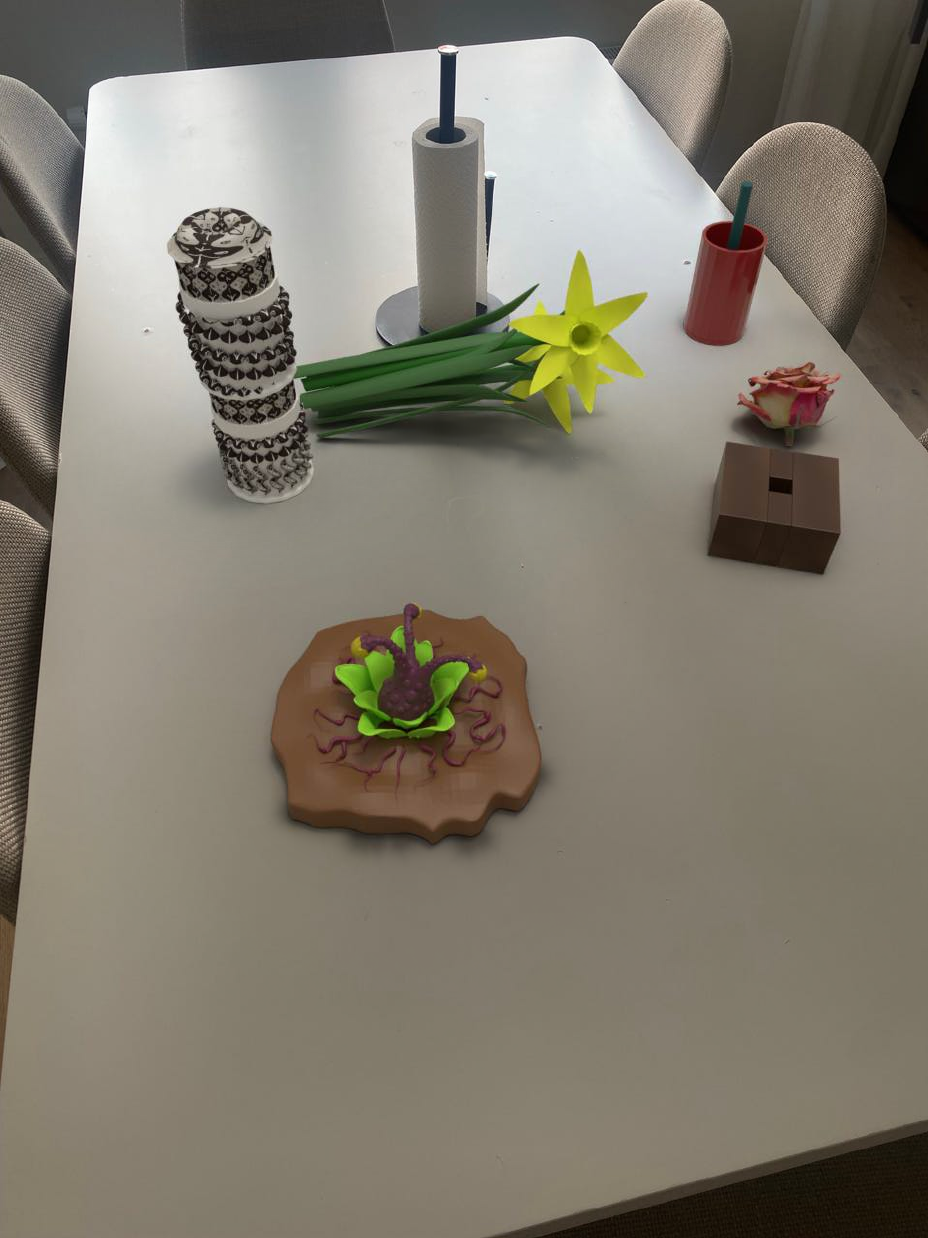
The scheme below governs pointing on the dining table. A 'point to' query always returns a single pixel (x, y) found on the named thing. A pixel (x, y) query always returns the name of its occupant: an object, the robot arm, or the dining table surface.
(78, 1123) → the dining table surface
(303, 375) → the daffodil flowers
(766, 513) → the holder
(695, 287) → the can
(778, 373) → the flower
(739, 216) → the straw
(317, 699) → the plant
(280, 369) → the decorative candle
